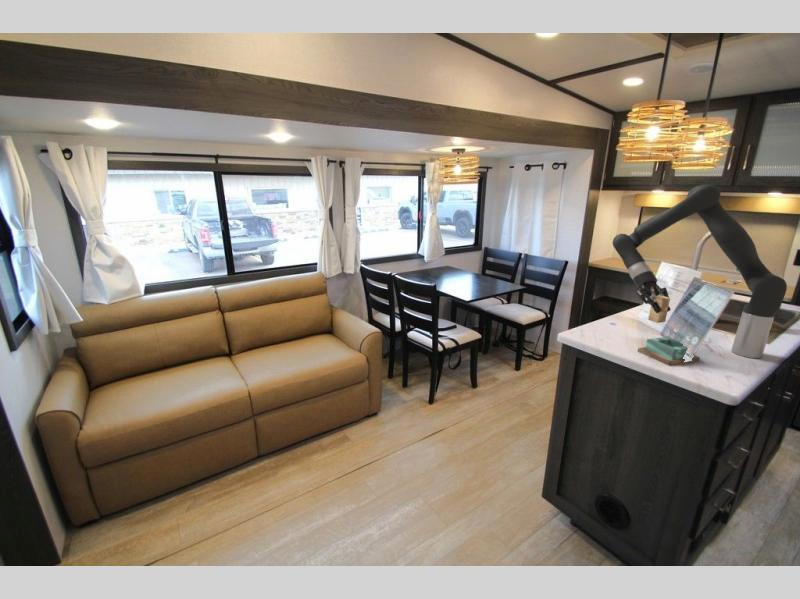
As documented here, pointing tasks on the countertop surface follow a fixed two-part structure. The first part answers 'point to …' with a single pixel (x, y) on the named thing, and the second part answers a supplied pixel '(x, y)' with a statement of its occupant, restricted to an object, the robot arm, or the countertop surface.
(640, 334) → the countertop surface
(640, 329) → the countertop surface
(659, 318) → the peg
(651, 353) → the socket block
